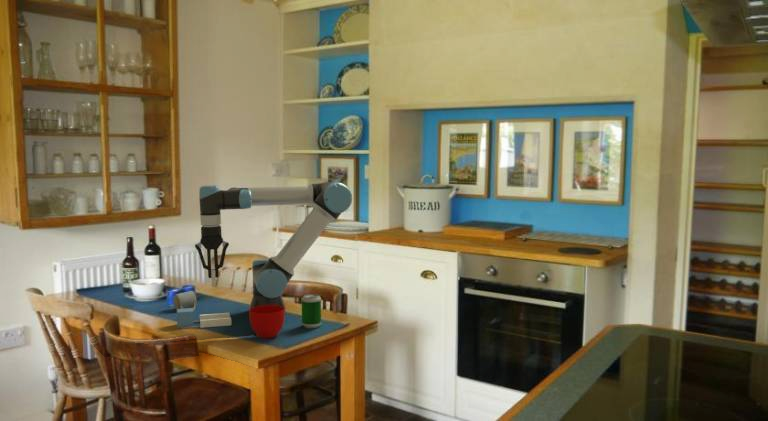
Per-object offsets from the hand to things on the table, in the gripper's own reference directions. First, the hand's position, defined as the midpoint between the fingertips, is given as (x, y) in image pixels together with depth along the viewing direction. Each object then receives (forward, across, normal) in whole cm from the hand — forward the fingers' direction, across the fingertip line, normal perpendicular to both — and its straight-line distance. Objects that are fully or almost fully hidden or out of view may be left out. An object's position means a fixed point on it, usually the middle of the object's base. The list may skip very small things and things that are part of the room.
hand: (213, 285), depth 246 cm
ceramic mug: (+16, +11, -30) cm, 35 cm away
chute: (+16, +4, 0) cm, 16 cm away
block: (+15, +11, 0) cm, 18 cm away
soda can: (+17, -36, +12) cm, 41 cm away
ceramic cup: (+16, -17, +18) cm, 29 cm away
